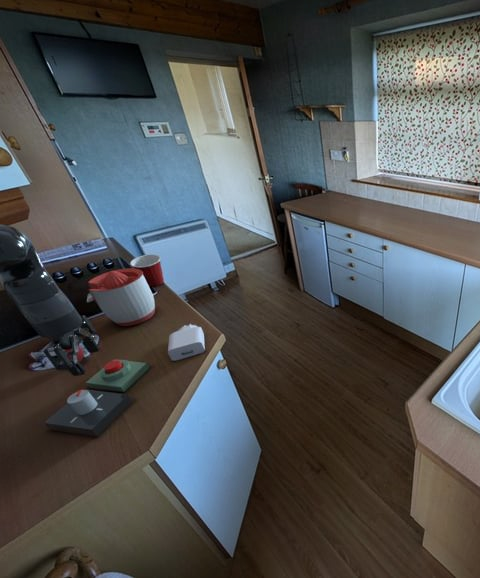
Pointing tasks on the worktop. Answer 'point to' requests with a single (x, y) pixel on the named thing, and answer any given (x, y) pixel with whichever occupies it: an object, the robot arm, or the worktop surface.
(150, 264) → the plastic cup
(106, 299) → the citrus juicer
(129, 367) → the block
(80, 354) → the red round fruit
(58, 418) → the panel
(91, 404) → the burner knob
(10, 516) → the worktop surface
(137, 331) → the worktop surface
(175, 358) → the charger
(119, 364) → the button
